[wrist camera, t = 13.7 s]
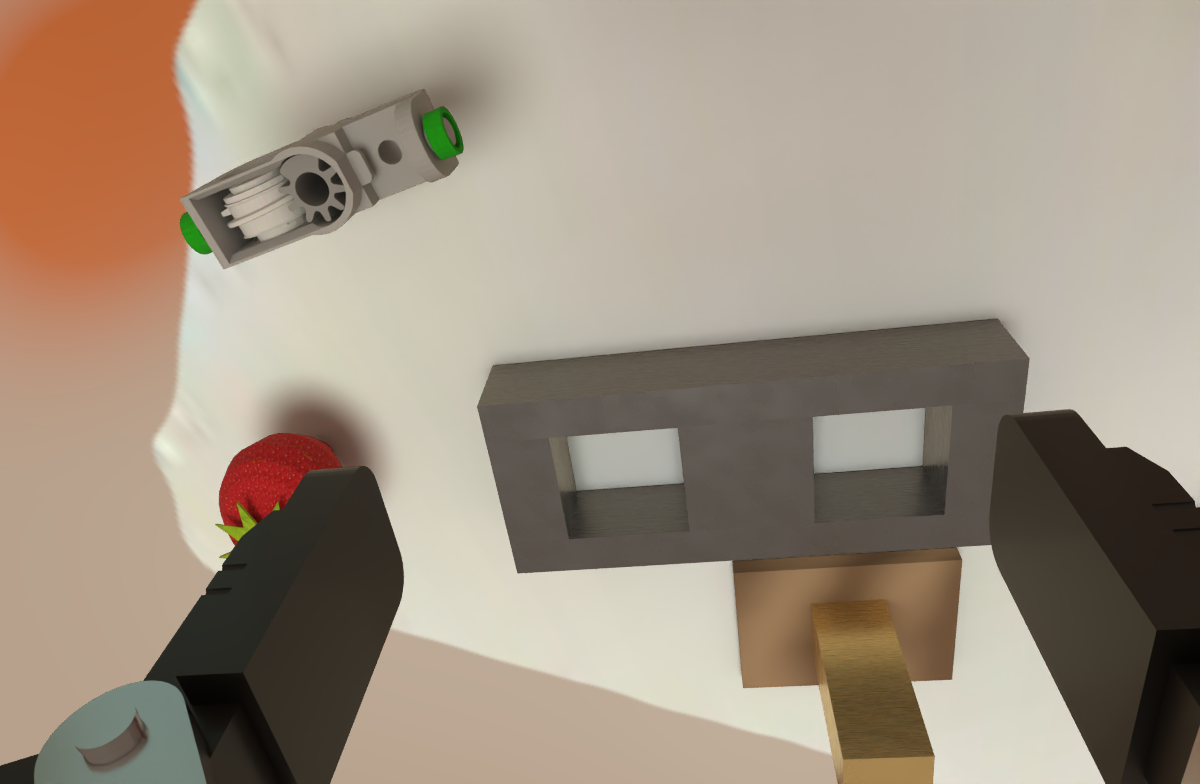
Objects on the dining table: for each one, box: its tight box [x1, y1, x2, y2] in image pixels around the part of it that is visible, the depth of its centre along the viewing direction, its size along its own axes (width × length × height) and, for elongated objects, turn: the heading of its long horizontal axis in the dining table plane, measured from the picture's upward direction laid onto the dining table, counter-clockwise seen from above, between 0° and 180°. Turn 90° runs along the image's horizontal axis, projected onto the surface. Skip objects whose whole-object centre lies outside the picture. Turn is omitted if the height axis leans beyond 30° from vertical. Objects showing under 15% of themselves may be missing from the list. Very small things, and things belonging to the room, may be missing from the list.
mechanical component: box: [180, 89, 463, 269], centre depth 33 cm, size 3×10×10 cm, turn 111°
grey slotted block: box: [477, 319, 1029, 573], centre depth 42 cm, size 24×10×4 cm, turn 98°
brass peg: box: [811, 599, 935, 784], centre depth 44 cm, size 4×4×10 cm
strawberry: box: [215, 433, 342, 558], centre depth 41 cm, size 6×8×10 cm
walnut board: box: [733, 548, 962, 688], centre depth 48 cm, size 12×9×1 cm
